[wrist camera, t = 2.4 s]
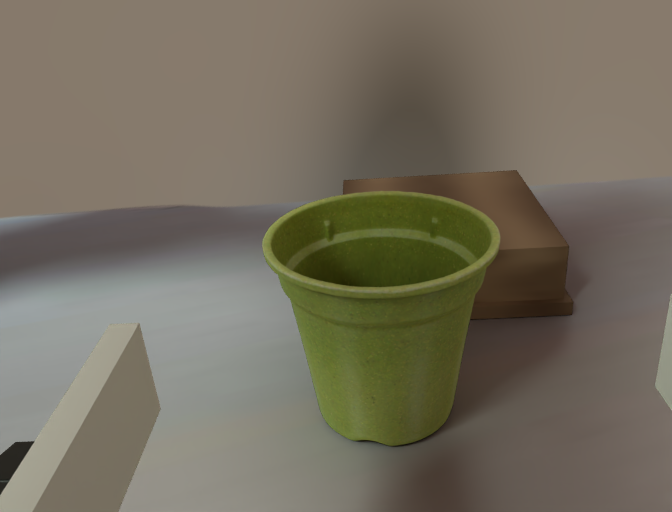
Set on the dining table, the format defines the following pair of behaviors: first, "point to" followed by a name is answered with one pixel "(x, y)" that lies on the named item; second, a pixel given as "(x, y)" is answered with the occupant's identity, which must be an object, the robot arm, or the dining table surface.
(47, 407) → the dining table surface
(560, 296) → the walnut plinth
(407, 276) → the plant pot
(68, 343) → the dining table surface
